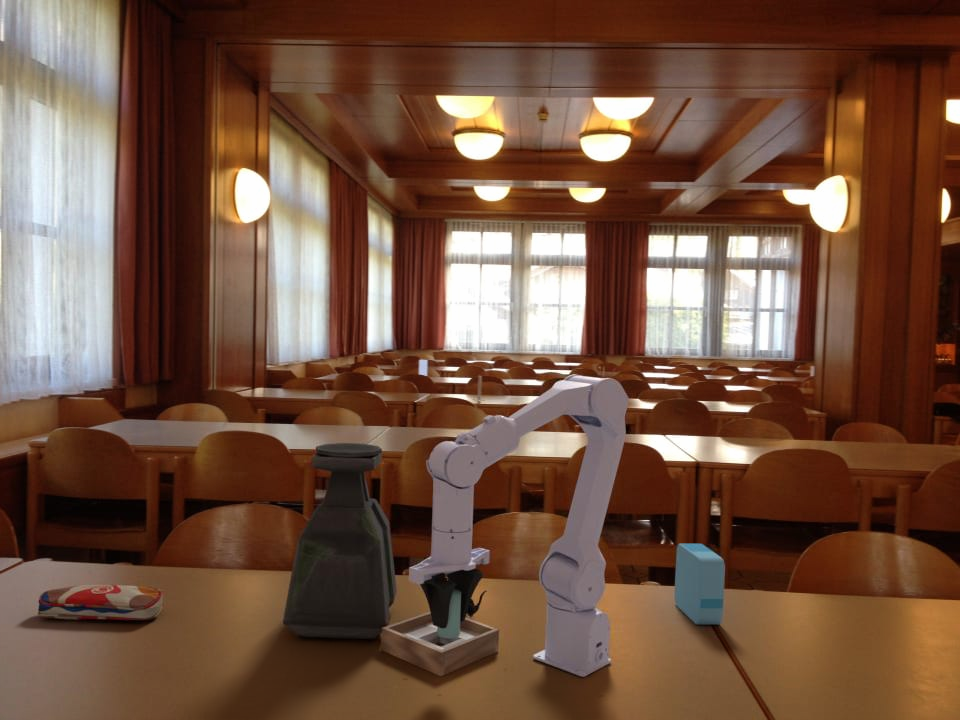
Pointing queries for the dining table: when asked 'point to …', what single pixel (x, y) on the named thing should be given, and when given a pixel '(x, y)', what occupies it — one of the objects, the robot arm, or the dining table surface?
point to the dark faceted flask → (343, 554)
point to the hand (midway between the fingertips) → (448, 622)
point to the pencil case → (101, 602)
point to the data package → (699, 583)
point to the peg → (452, 617)
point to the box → (420, 637)
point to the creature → (474, 606)
